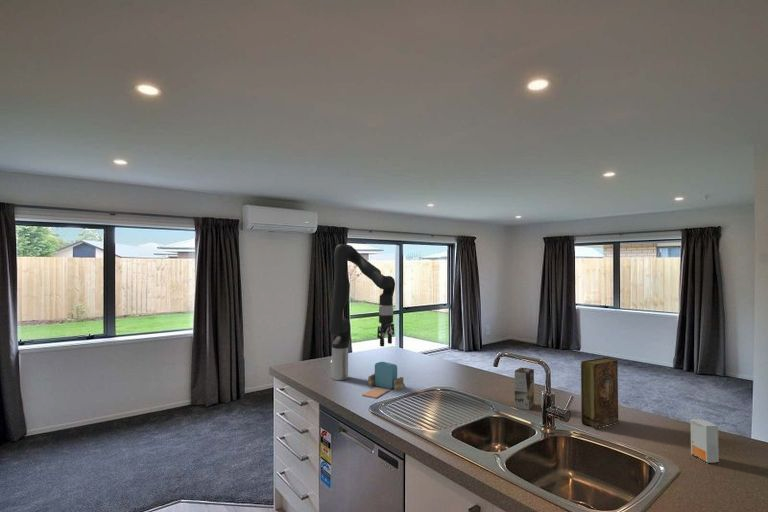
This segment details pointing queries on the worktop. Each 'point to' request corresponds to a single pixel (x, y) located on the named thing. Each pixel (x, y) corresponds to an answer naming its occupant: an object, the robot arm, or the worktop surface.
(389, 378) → the blue flat block
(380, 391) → the terracotta pad
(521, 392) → the coffee box
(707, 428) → the skincare box
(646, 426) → the worktop surface
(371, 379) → the oak rack
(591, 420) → the book
